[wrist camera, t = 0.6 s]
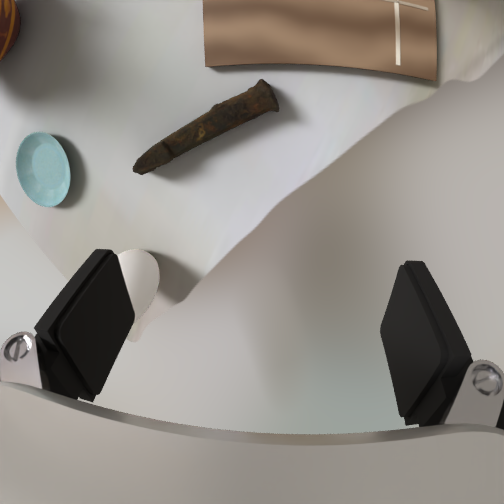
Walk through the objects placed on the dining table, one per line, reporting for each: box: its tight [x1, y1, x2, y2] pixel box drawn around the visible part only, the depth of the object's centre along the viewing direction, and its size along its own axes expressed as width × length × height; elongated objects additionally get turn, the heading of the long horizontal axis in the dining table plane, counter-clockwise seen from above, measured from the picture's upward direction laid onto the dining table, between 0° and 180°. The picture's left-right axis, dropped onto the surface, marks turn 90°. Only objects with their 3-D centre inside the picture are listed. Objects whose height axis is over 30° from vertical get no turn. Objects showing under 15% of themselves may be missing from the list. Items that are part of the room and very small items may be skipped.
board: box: [203, 0, 437, 81], centre depth 25 cm, size 12×26×2 cm, turn 92°
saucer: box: [16, 132, 71, 207], centre depth 37 cm, size 12×12×2 cm
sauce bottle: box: [117, 249, 160, 323], centre depth 38 cm, size 8×8×18 cm
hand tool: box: [133, 79, 279, 175], centre depth 33 cm, size 19×4×5 cm, turn 115°
